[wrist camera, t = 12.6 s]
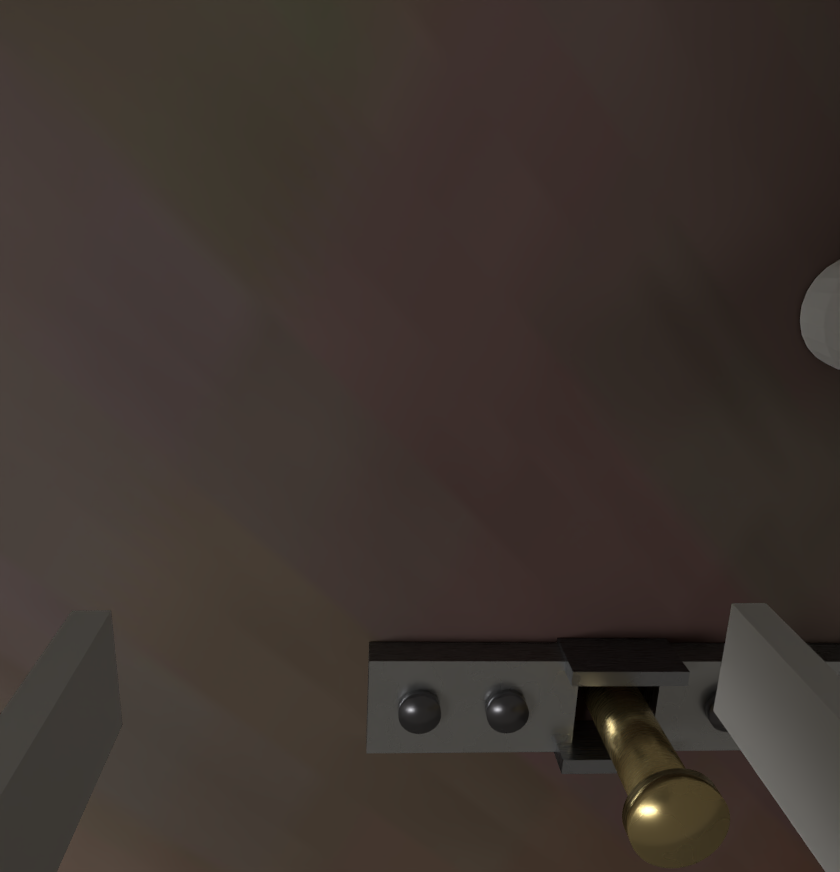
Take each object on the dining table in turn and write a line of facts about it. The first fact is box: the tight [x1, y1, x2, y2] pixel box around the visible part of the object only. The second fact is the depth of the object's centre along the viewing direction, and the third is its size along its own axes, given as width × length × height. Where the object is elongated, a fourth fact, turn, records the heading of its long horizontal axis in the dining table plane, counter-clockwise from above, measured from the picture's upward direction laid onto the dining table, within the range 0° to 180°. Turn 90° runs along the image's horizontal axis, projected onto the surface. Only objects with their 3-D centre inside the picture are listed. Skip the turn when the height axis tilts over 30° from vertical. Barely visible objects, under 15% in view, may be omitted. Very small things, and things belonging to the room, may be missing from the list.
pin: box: [581, 686, 730, 868], centre depth 40 cm, size 5×5×11 cm
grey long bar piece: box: [367, 638, 840, 774], centre depth 44 cm, size 29×7×4 cm, turn 88°
